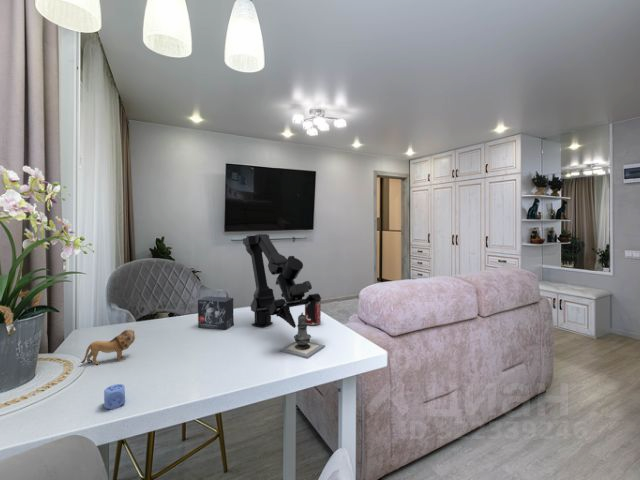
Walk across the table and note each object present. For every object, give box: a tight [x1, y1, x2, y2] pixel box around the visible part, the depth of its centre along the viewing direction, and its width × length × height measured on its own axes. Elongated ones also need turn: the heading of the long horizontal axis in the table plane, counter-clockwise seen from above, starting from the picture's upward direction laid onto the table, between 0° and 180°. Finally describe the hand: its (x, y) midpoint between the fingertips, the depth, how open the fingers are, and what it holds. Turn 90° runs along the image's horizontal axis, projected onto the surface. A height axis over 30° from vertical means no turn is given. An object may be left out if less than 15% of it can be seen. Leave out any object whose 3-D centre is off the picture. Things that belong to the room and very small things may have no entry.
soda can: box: [304, 294, 322, 326], centre depth 133 cm, size 7×7×12 cm
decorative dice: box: [103, 383, 126, 410], centre depth 73 cm, size 4×4×4 cm
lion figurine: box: [80, 328, 136, 365], centre depth 97 cm, size 15×5×9 cm, turn 123°
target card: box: [280, 340, 326, 359], centre depth 106 cm, size 11×11×1 cm
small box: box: [197, 295, 235, 331], centre depth 129 cm, size 13×7×12 cm, turn 76°
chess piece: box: [293, 312, 312, 350], centre depth 105 cm, size 6×6×12 cm
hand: (305, 324), depth 104 cm, fingers open, 8 cm apart
